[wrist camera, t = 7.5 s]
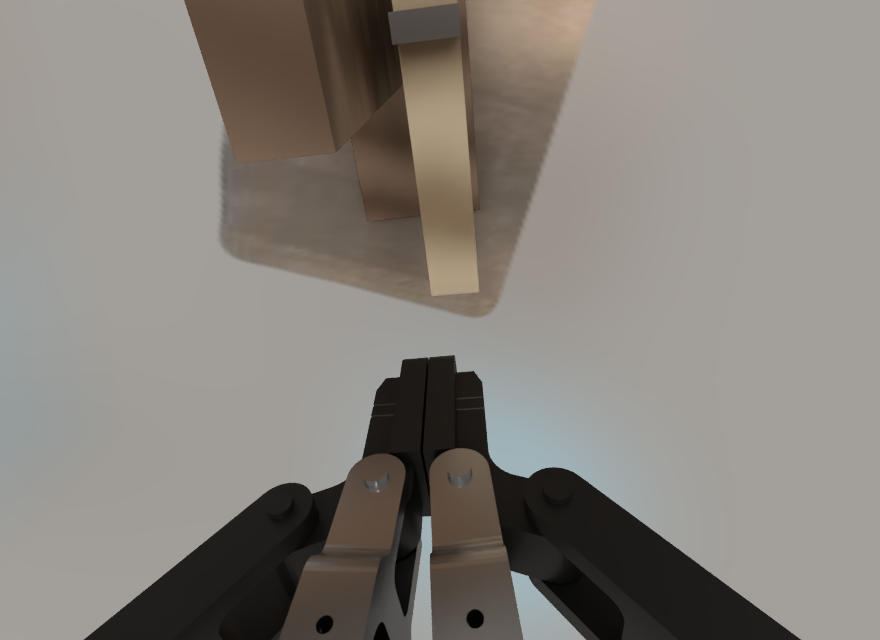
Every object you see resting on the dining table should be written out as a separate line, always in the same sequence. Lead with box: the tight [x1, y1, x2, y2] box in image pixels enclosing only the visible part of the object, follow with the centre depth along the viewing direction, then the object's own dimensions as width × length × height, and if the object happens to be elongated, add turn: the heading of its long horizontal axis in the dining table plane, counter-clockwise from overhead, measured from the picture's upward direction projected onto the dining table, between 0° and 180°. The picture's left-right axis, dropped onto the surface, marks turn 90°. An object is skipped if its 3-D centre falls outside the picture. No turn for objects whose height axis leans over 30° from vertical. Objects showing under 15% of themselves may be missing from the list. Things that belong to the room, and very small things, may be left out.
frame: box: [388, 0, 479, 296], centre depth 24 cm, size 24×2×18 cm, turn 6°
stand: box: [184, 0, 480, 221], centre depth 26 cm, size 30×11×32 cm, turn 6°
